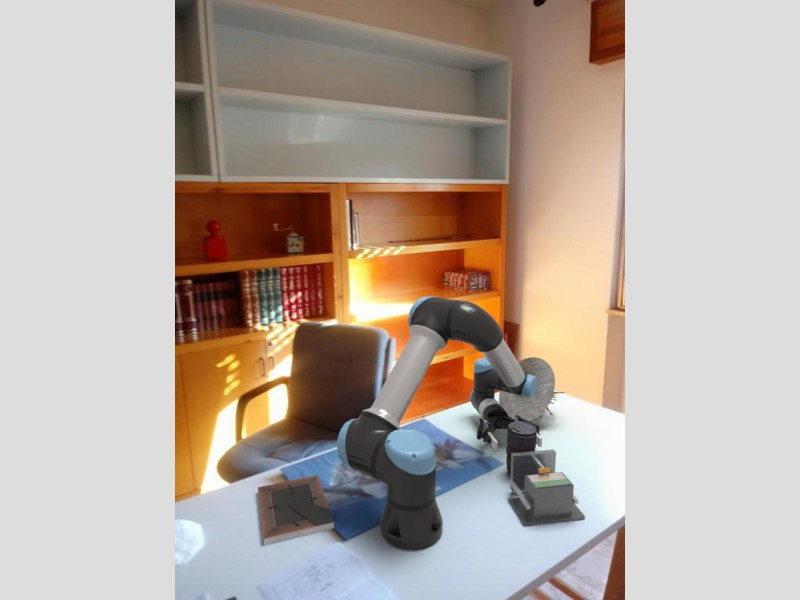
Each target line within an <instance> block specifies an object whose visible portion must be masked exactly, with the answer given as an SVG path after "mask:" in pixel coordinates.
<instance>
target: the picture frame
mask: <svg viewBox="0 0 800 600" xmlns="http://www.w3.org/2000/svg"><path fill="white" fill-rule="evenodd" d="M257 494H258V496H257V497H258V502H259V503H258V504H259V510H260V520H261V527H262V529H261V530H262V531H261V532H262V537H263V539H262V540H263V545H264V546H267V545H271V544H275V543H280V542H283V541H287V540H290V539H295V538H300V537H304V536H309V535H312V534H315V533H319V532H323V531H329V530H332V529H335V521H334V519H333V514H332V512H331V509H330V507H329V504H328V501H327V499H326V494H325V492H324V489H323V485H322V483H321V480H320V477H319V475H316V474H315V475H313V476H307V477H306V476H305V477H302V478H298V479H296V478H295V479H292V480H287V481H282V482H278V483H272V484H267V485H261V486H259V487H258V486H257Z"/></svg>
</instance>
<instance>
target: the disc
mask: <svg viewBox="0 0 800 600" xmlns="http://www.w3.org/2000/svg"><path fill="white" fill-rule="evenodd" d="M518 363H519V365H520V366H521V368H522V369H523V371H524V373H525V374H530V375H533V376H535V377H536V379H537V389H536V392H535V394H534V395H533V396H532V397H530V398H528V397H523V396H522V397H521V396H518V395H515V394H511V393H507V392H503V391H498V392H499V394H498V401H499V402H498V403H499V404H500V405H501V406H502V407H503V409H504V410H505V411H506V412H507V414H508V416H509V417H511V418H515V416H516V415H518V416H520V417H521V418H523V419H525V420H527V421H530V422H532V421H533V420H535V419H537V418H539V417H540V419H541V420H542V419H543V418H542V414H543V413H546V410H547V412H549V415H551V416H553V417H554V414H553V413H552V412H551V410H550V409H549V406H550V404H552V405H554V404H555V403H554V402H553V401H557V396H558V395H557V394H565V393H566V392H565V391H562V392H561V391H555V387H556V378H555V373H554V370H553V368H552V366H551V365H550V364H549V363H548V362H547V361H546V360H544V359H543V358H541V357H536V356H535V357H527V358H523V359H521V360H519V361H518ZM555 396H556V397H555ZM552 400H553V401H552Z"/></svg>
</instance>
